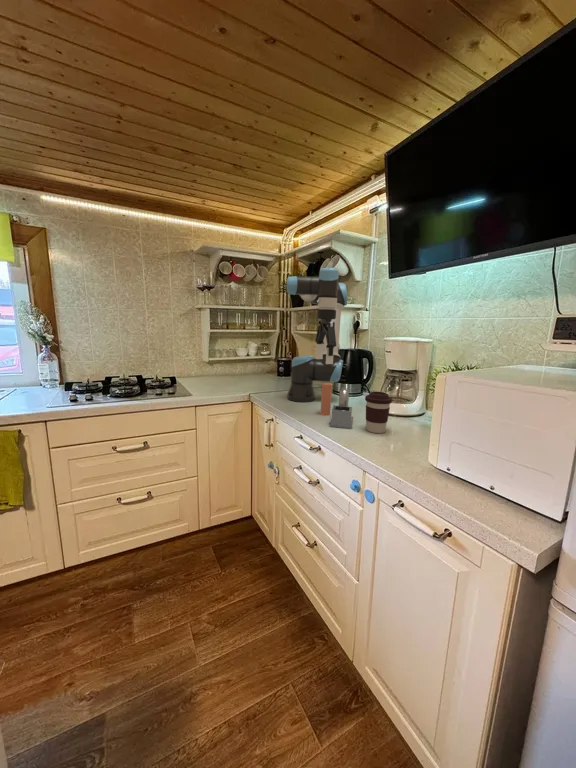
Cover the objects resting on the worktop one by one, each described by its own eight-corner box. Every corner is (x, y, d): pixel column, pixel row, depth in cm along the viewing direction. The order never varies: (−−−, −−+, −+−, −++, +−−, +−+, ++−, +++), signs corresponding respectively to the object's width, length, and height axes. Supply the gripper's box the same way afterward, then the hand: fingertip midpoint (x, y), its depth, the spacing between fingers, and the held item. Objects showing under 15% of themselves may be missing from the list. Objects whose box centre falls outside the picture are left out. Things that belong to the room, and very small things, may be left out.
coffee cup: (393, 430, 125) (396, 393, 123) (381, 436, 118) (385, 397, 115) (370, 424, 132) (373, 389, 129) (357, 430, 125) (360, 392, 122)
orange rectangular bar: (321, 412, 148) (323, 382, 145) (330, 413, 147) (332, 383, 144) (320, 414, 144) (322, 384, 141) (329, 415, 143) (331, 385, 141)
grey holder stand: (332, 415, 143) (334, 387, 140) (353, 417, 141) (355, 389, 139) (329, 426, 128) (331, 395, 125) (352, 429, 126) (354, 396, 123)
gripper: (309, 308, 139) (307, 357, 144) (327, 308, 116) (324, 366, 120) (326, 309, 141) (323, 357, 146) (347, 309, 117) (343, 366, 122)
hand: (324, 361), depth 133 cm, fingers open, 13 cm apart
